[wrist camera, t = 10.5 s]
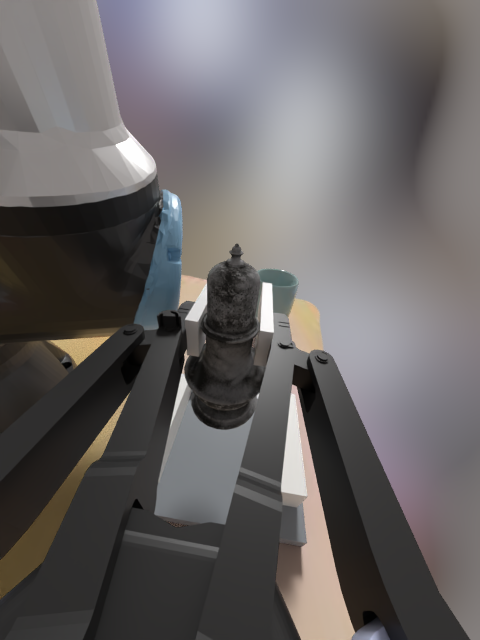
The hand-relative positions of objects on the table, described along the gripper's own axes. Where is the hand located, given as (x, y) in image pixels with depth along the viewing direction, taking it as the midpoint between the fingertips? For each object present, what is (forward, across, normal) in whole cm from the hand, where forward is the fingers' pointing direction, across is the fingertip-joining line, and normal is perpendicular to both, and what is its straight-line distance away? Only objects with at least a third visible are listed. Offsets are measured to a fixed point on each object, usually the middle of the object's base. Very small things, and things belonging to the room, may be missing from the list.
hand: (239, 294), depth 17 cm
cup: (+19, +5, -16) cm, 25 cm away
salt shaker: (-5, 0, -7) cm, 9 cm away
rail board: (-5, 0, -16) cm, 16 cm away
